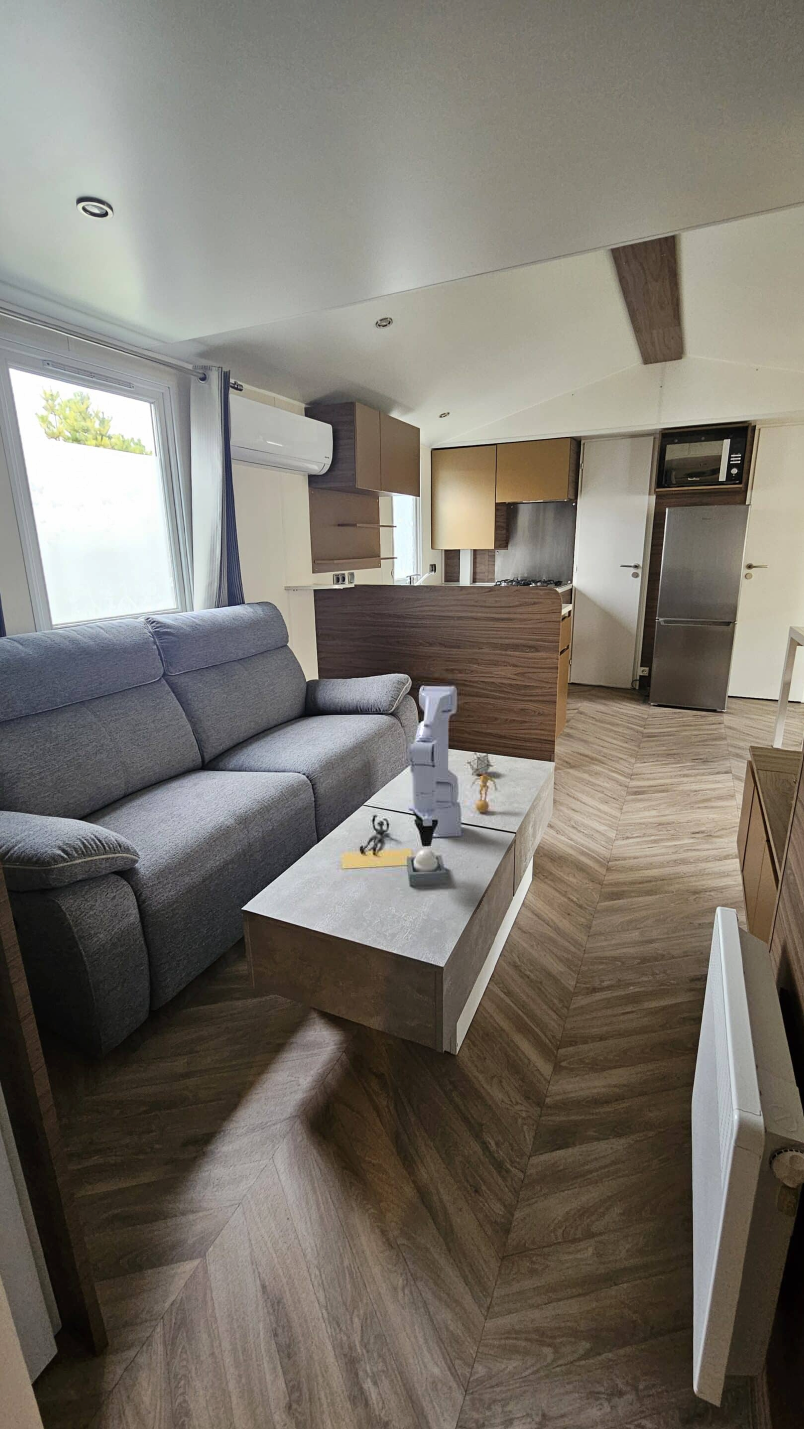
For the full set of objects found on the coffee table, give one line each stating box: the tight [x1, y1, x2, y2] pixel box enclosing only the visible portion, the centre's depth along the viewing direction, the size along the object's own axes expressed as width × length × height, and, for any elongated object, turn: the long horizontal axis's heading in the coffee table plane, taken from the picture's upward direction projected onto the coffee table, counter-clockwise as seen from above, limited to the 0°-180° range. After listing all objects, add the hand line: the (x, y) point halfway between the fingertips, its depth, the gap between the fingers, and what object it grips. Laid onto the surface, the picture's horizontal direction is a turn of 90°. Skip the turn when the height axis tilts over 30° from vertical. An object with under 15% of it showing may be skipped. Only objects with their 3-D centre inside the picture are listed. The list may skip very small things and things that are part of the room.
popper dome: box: [414, 848, 438, 872], centre depth 155 cm, size 6×6×5 cm
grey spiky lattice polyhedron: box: [466, 752, 494, 776], centre depth 224 cm, size 9×8×10 cm
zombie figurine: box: [359, 814, 390, 855], centre depth 174 cm, size 5×7×15 cm
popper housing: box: [406, 854, 447, 887], centre depth 156 cm, size 9×9×3 cm
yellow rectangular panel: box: [341, 848, 414, 870], centre depth 166 cm, size 19×9×1 cm, turn 94°
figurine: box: [470, 773, 498, 813], centre depth 193 cm, size 8×6×12 cm
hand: (425, 840), depth 154 cm, fingers open, 5 cm apart
